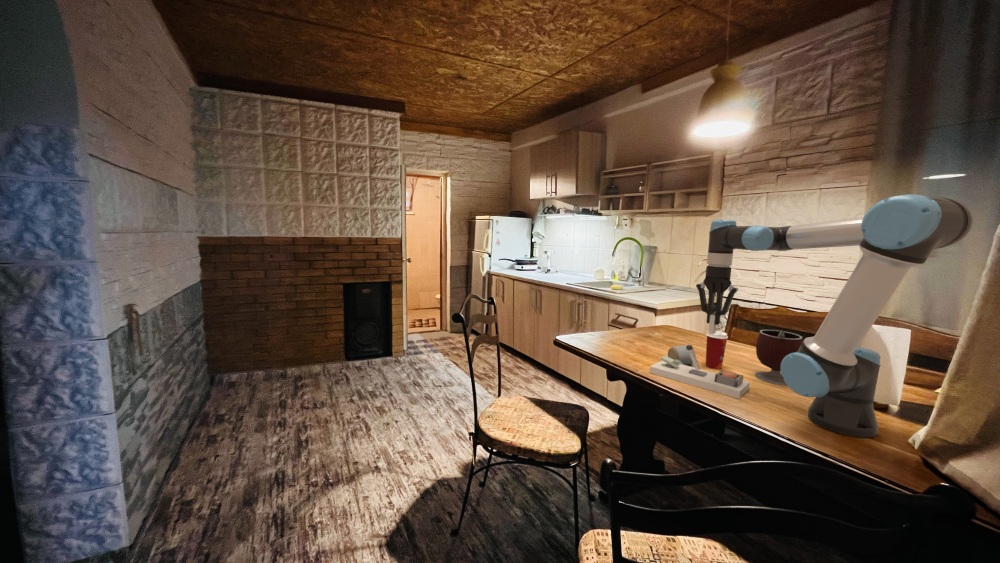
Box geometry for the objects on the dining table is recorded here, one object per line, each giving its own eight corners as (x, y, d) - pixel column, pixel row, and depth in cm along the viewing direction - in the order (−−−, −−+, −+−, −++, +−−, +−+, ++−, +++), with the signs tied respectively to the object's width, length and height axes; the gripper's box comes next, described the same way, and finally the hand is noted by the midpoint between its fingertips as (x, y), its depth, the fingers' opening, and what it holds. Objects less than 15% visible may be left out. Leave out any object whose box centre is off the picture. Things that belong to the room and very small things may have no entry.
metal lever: (702, 368, 143) (692, 343, 145) (700, 369, 141) (690, 344, 143) (696, 369, 145) (686, 344, 146) (694, 371, 143) (684, 346, 145)
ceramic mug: (665, 361, 164) (667, 343, 163) (683, 360, 166) (685, 342, 164) (682, 370, 154) (684, 351, 153) (700, 370, 155) (702, 351, 154)
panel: (749, 389, 137) (750, 375, 137) (739, 398, 129) (740, 383, 128) (662, 365, 158) (664, 353, 158) (649, 372, 150) (650, 359, 149)
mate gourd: (752, 369, 157) (758, 320, 155) (796, 377, 150) (803, 325, 147) (752, 381, 144) (759, 327, 142) (799, 391, 137) (807, 334, 134)
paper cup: (727, 371, 155) (731, 336, 153) (706, 369, 156) (710, 334, 154) (720, 364, 162) (723, 330, 160) (699, 362, 163) (703, 329, 161)
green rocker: (679, 365, 149) (681, 361, 149) (676, 367, 147) (677, 363, 146) (664, 358, 153) (665, 354, 153) (660, 359, 151) (661, 355, 150)
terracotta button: (737, 380, 136) (738, 373, 136) (734, 383, 133) (734, 376, 133) (723, 376, 139) (724, 369, 139) (719, 379, 136) (720, 372, 136)
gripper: (743, 266, 134) (736, 335, 137) (702, 263, 143) (696, 327, 146) (737, 267, 129) (729, 339, 132) (694, 264, 138) (688, 331, 141)
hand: (711, 333), depth 139 cm, fingers closed
